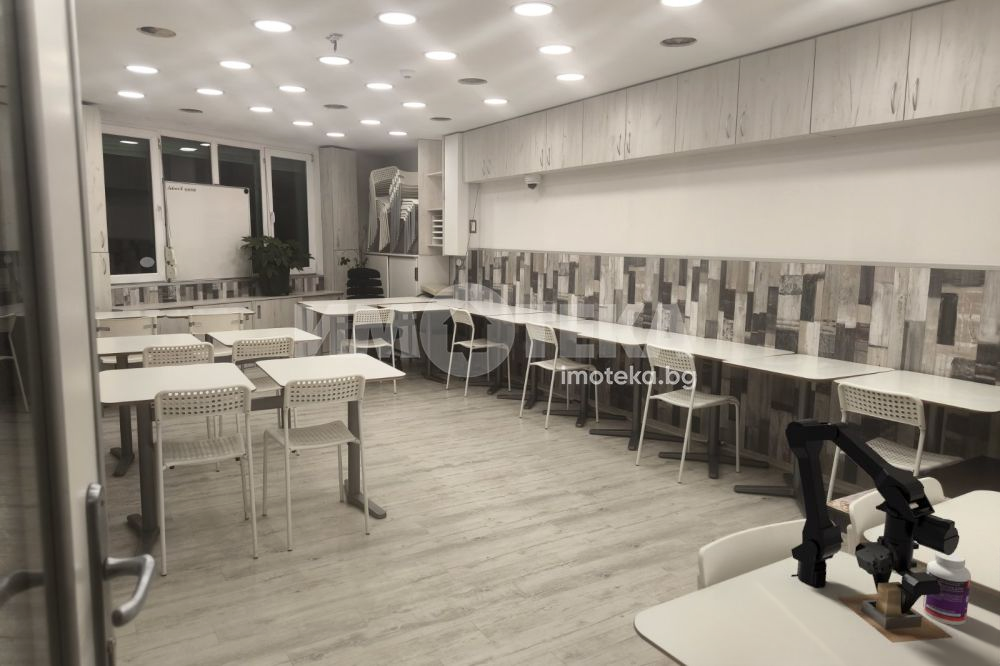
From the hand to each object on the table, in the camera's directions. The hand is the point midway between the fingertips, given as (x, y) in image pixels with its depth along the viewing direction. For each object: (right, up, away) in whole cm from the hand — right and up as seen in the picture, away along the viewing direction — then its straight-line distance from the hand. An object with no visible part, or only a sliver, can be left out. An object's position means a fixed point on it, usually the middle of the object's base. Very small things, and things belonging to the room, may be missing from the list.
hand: (891, 604), depth 148 cm
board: (+1, -4, +2) cm, 4 cm away
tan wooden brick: (0, -3, 0) cm, 3 cm away
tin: (0, -3, 0) cm, 3 cm away
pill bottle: (+13, -4, +3) cm, 14 cm away
